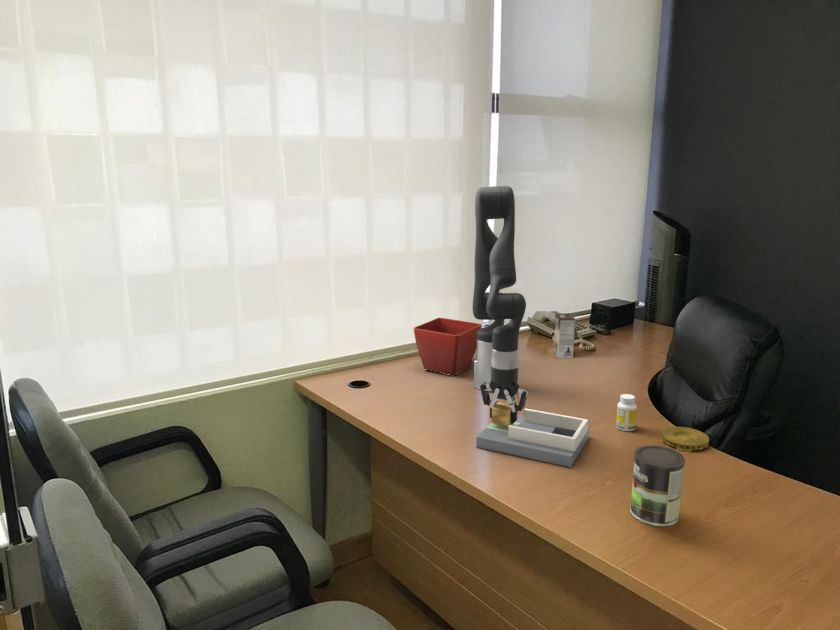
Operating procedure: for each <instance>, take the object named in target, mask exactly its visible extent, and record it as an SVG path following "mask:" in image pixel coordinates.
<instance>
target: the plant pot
mask: <svg viewBox="0 0 840 630" xmlns="http://www.w3.org/2000/svg"><path fill="white" fill-rule="evenodd" d="M481 328H482V323H476V322H473V321H472V322H470V321H465V320H458V319H453V318H452V319H451V318H445V317H437V318H434V319H432V320H430V321H427V322H424V323H422V324H419V325H417V326H415V327H413V335H414V339H415V343H416V348H417V351H418V355H419V357H420V360H421V364H422V366H423V368H424V370H425V369H427V370H432V371H436V372H441V373H445V374H450V375H455V376H457V375H458V374H457V373H459V372H460V373H462V372H464V371H466V370H467V369H468V367H469V368H470V366H471V364H472V362H473V360H474V357H475V354H476V351H477V331H478V330H479V329H481ZM466 368H467V369H466ZM427 370H426V371H427ZM463 370H464V371H463ZM461 371H462V372H461ZM436 372H435V373H436ZM441 373H440V374H441ZM460 373H459V374H460ZM445 374H444V375H445ZM456 374H457V375H456ZM450 375H449V376H450Z"/></svg>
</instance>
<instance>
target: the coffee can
mask: <svg viewBox="0 0 840 630" xmlns="http://www.w3.org/2000/svg"><path fill="white" fill-rule="evenodd" d="M685 463H686V458H685V456H684V455H683V454H682V453H680V452H679V451H677V450H675V449H674V448H673V449H672V448H670V447H666V446H662V445H653V444H652V445H642V446H639V447H637V448H636V449H635V450H634V462H633V475H632V485H631V486H632V488H631V498H630V506H629V507H630V508H629V511H630V512H629V513H630V514H631V515H632V517H634V518H635V519H636V520H637V519H638V521H639V522H641V523H644V524H646V525H649V526H654V527H661V528H662V527H664V528H665V527H670V526H673V525H675V524H677V523H678V522H679V519H680V514H679V513H680V505H681V497H682V487H683V478H684V470H685V469H684V468H685Z"/></svg>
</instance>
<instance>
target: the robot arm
mask: <svg viewBox="0 0 840 630" xmlns="http://www.w3.org/2000/svg"><path fill="white" fill-rule="evenodd" d="M474 211H475V247H474V287H473V297H472V314H473V317H474V319H476V320H482V321H486V320H487V321H492V320H493V322H492V323H491V324H488V325H487V326H484V327H481V329H479V330H478V331H477V348H476V351H475V354H476V357H475V360H474V361H473V388H475V389H478V390H480V392H481V393H480V394H481V398H482V403H483V405H484V406H487V407H489V417H490V419H492V408H493V407H494V406H495V405H496V404H497V403H498V401H499V400H504V401H507V404H509V405H510V408H511V420H510V423H511V424H514V423H515V422H516V421H517V414H518V412H521V411H523V410H524V409H525V407H526V403H527V399H528V396H529V393H530V391H529V389H526V388H525V389H523V388H522V387H520V385H519V364H520V360H519V359H520V358H519V334H520V329H521V325H522V322H523V318H524V316H525V314H526V308H527V301H526V298H525V296H524V295H523V294H522V293H518V292H509V293H508V292H500V290H504V289H509V288H510V287H512V286H514V285H516V282H517V271H516V261H515V260H516V259H515V233H516V232H515V231H516V230H515V229H516V226H515V225H516V224H515V223H516V221H515V219H516V201H515V193H514V190H513V188H512V187H511V186H508V185H499V186H494V185H493V186H483V187H482V186H481V187H479V188H477V189H476V191H475V198H474ZM488 220H503V227H502V229H501V232H500V234H499V236H497V235H496V234H495V233H494V232H493V230H492V229H491V227H490V226H489V223H488ZM488 288H489V292H488V291H487V289H488ZM505 320H509V321H508V323H506V324H505ZM490 392H492V393H493V395H492V396H490ZM516 394H518V396H519V397H520V398H519V401H518V403H517V397H516Z"/></svg>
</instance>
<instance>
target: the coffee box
mask: <svg viewBox="0 0 840 630" xmlns="http://www.w3.org/2000/svg"><path fill="white" fill-rule="evenodd" d="M575 329H576V318H575V317H574V316H573V314H572V313H570V312H569V313H566V312H565V313H555V314H554V335H553V338H554V339H553V340H554V341H553V352H554V353H555V355H556V357H557V359H573V358H574V349H575V348H574V347H575V346H574V344H575V331H576V330H575Z"/></svg>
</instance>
